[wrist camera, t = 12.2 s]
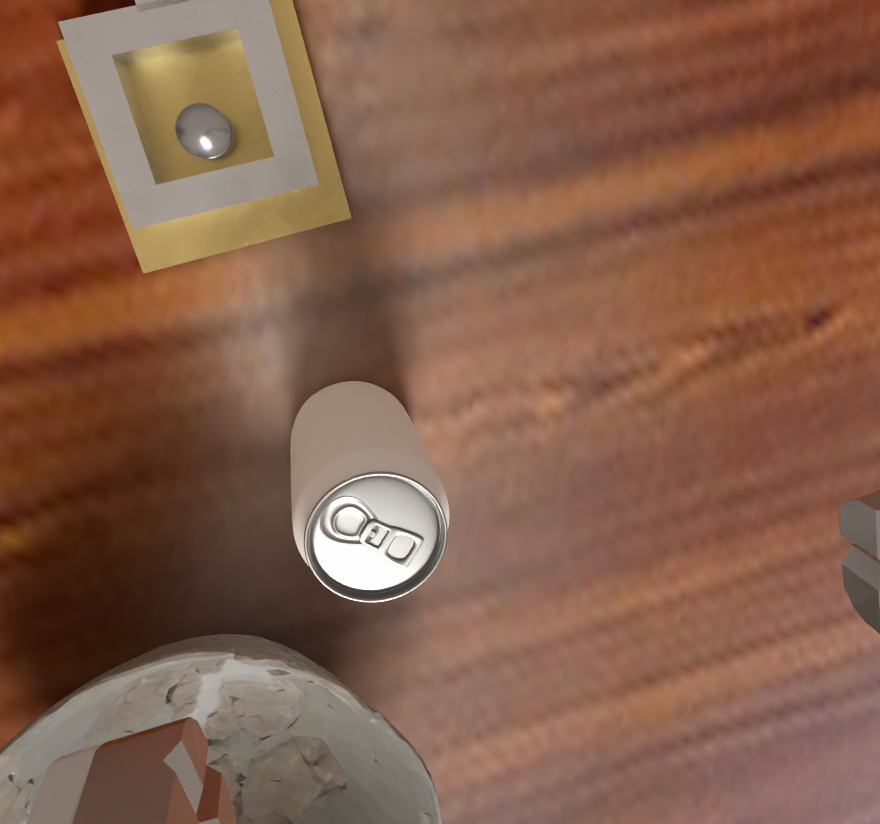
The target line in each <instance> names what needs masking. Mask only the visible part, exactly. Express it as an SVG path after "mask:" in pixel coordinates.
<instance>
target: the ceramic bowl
mask: <svg viewBox="0 0 880 824" xmlns="http://www.w3.org/2000/svg"><path fill="white" fill-rule="evenodd" d="M186 717H192V718H193V719H195V720H197V721H198V723H199V725H200V727H201V729H202V731H203V733H204V735H205V737H206V739H207V741H208V752H207V760H206V765H207V766H209V767H211V768H213V769H215V770H217V771H218V772H220V773H222V775H223V777H224V780H225V782H226V785H227V787H228V789H229V792H230V796H231V800H232V803H233V807H234V810H235V819H236V824H442V821H441V815H440V811H439V806H438V801H437V796H436V791H435V787H434V784H433V781H432V778H431V775H430V773H429V771H428V769H427V767H426V765H425V763H424V762H423V760H422V758H421V757H420V756H419V754H418V753H417V751H416V750H415V749H414V747H413V746H412V745H411V744H410V743H409V742H408V741H407V739H406V738H405V737H404V736H403V735H402V734H401V733H400V732H399V731H398V730H397V729H396V728H395V727H394V726H393V725H392V724H391V723H390V722H389V721H388V720H387V719H386V718H385V717H384V716H383V715H382V714H381V713H380V712H379V711H377V710H374V709H372V708H371V707H370V706H369V705H367V704H366V703H365V702H364V701H363V700H362V699H361V698H360V697H359V696H358V695H357V694H355V693H354V692H353V691H351V690H350V689H349V688H348V687H347V686H346V685H345V684H344V683H342V682H341V681H340V680H339V679H338V678H337V677H336V676H335V675H334V674H332V673H331V672H329V671H328V670H326V669H325V668H323V667H321V666H319V665H318V664H317V663H315V662H313V661H312V660H310V659H309V658H307V657H306V656H304V655H302V654H301V653H299V652H297V651H294V650H292V649H290V648H288V647H286V646H284V645H282V644H279V643H276V642H273V641H270V640H267V639H264V638H261V637H258V636H251V635H242V634H217V635H209V636H201V637H194V638H188V639H184V640H181V641H177V642H174V643H170V644H167V645H163V646H160V647H157V648H155V649H153V650H150V651H148V652H146V653H144V654H142V655H140V656H138V657H135V658H133V659H131V660H129V661H127V662H125V663H123V664H121V665H119V666H117V667H115V668H113V669H111V670H109V671H107V672H105V673H103V674H101V675H99V676H98V677H96V678H94V679H92V680H91V681H89V682H87V683H86V684H84V685H83V686H81V687H79V688H78V689H76V690H75V691H73V692H72V693H70V694H69V695H67V696H66V697H64V698H63V699H61V700H60V701H59V702H57V703H56V704H55V705H53V706H52V707H51V708H49V709H48V710H47V711H45V712H44V713H43V714H41V715H40V716H39V717H37V718H36V719H35V720H33V721H32V722H31V723H29V724H28V725H27V726H26V727H25V728H24V729H23V730H21V731H20V732H19V733H18V734H17V735H16V736H15V737H13V738H12V739H11V740H10V741H9V742H8V743H6V744H5V745H4V746H3V747H2V748H1V749H0V824H26V823H27V820H28V818H29V815H30V812H31V810H32V807H33V805H34V802H35V800H36V797H37V795H38V792H39V790H40V787H41V785H42V782H43V780H44V777H45V775H46V772H47V770H48V768H49V766H50V764H52V763H53V762H54V761H55V760H57V759H58V758H59V757H62V756H65V755H68V754H71V753H74V752H77V751H80V750H83V749H86V748H89V747H92V746H95V745H102V744H103V743H105V742H108V741H111V740H114V739H118V738H121V737H124V736H127V735H131V734H134V733H137V732H141V731H144V730H147V729H150V728H154V727H157V726H160V725H163V724H167V723H170V722H173V721H177V720H180V719H183V718H186Z"/></svg>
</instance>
